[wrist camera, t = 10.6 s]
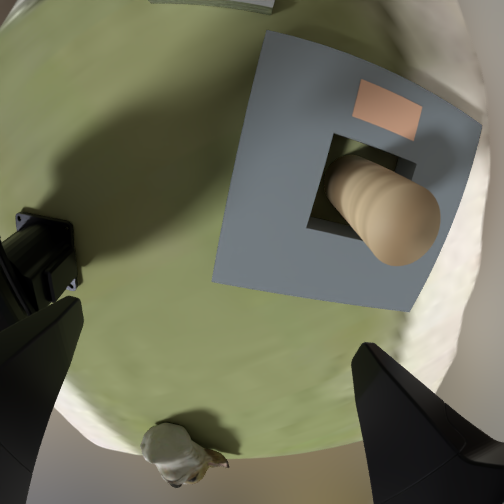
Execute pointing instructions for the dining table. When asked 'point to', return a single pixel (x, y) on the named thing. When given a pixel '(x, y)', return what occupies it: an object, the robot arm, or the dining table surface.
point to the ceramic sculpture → (178, 455)
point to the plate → (229, 4)
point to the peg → (383, 209)
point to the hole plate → (311, 168)
